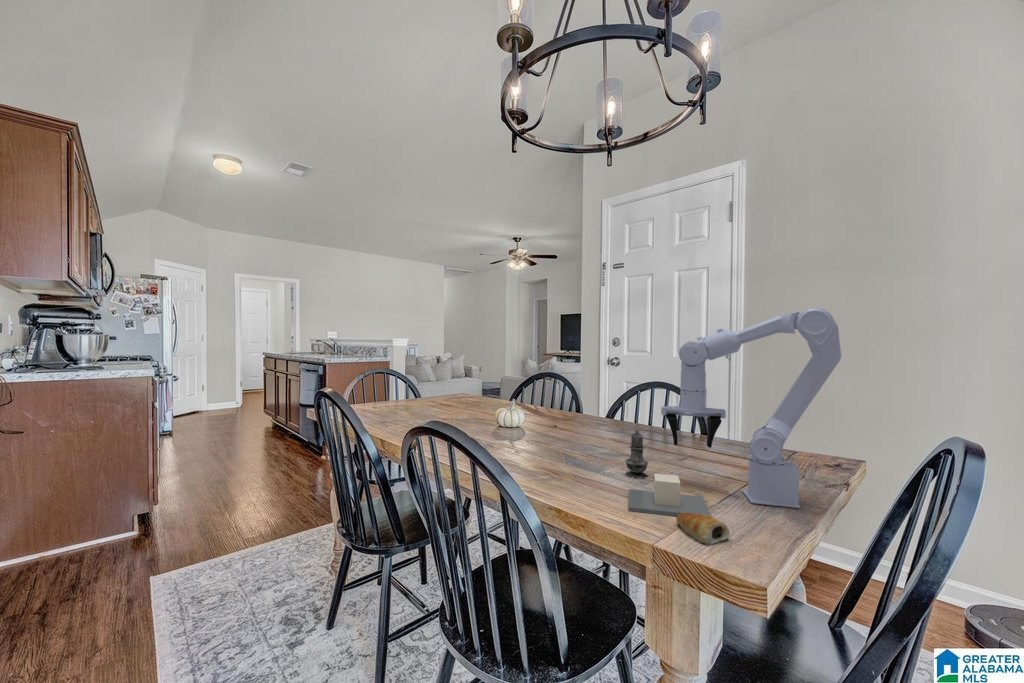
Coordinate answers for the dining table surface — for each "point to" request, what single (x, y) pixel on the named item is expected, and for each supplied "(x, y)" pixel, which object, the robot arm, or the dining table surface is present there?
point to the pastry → (703, 527)
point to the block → (667, 490)
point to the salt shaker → (636, 457)
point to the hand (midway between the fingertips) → (692, 445)
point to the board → (646, 504)
